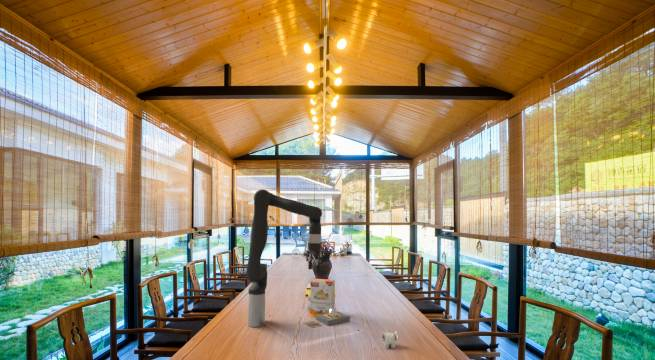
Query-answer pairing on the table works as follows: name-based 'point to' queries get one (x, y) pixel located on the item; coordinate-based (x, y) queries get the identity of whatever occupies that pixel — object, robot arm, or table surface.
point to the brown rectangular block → (313, 324)
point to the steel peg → (332, 312)
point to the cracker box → (322, 295)
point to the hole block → (334, 320)
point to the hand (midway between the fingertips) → (314, 270)
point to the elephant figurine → (389, 339)
